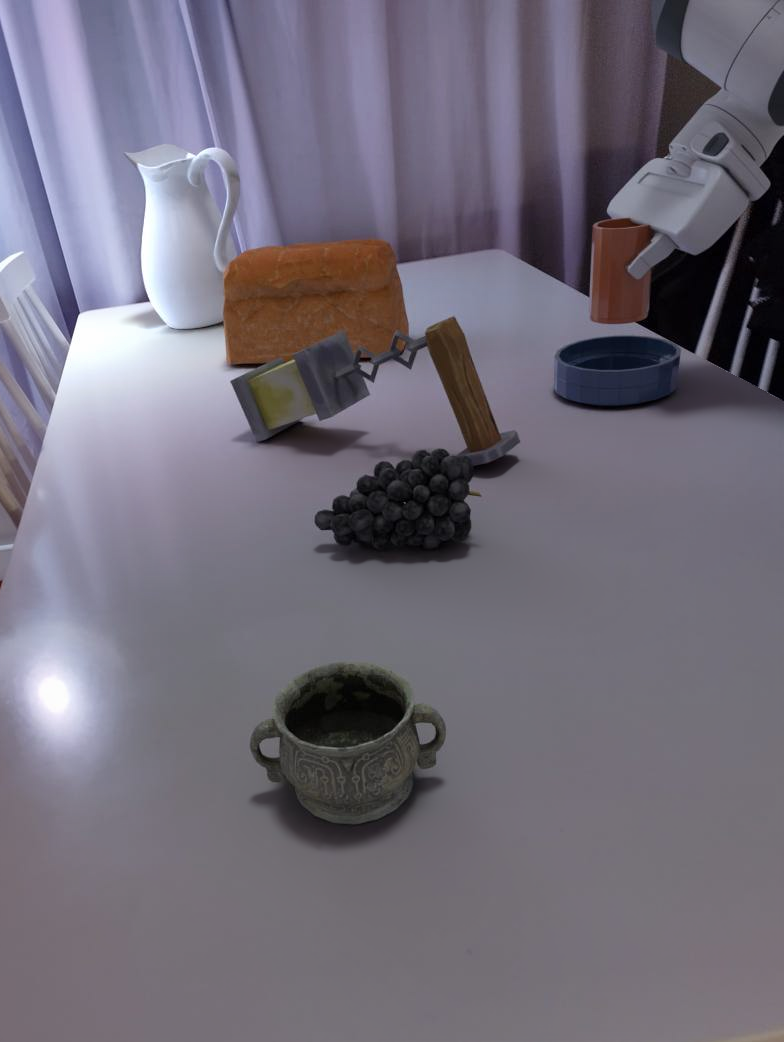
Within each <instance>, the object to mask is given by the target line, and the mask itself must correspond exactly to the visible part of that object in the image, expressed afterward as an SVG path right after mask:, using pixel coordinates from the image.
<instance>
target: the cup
mask: <svg viewBox="0 0 784 1042" xmlns="http://www.w3.org/2000/svg"><path fill="white" fill-rule="evenodd" d="M591 232H592V234H591V254H590V255H591V258H590V278H589V279H590V280H589V300H588V301H589V302H588V314H589V315H588V318H589V320H590V321H591V322H592V323H596V324H602V325H625V324H632V323H637V322H640V321H643V320H646V319H647V318H648V316H649V310H650V300H651V299H650V298H651V286H652V276H653V275H652V272H653V267H650V269H649V270H648V271H647V272H646V273H645V274H644V275H643V276H642V278H640V279H635V278H633V277H631V276H630V275H629V274H628V273H627V272H626V271H625V270H624V267H625V265H626V264H627V263H628V262H629V261H630V259H631V258H632V257H633V256H634V255H639V254H640V253H641V252H642V251H643V250H644V249H645V248H647V247H648V246H649V245H650V244H651V243H652V242H651V240H652V239H653V238H654V236H655V230H652V229H650V227H649V224H646V225H642V226H641V225H638V224H635V223H632V222H631V221H630V218H629V217H628V218H616V219H612V218H609V219H605V220H599V221H597V222H594V224H593V225H592V231H591Z"/></svg>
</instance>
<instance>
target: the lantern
mask: <svg viewBox="0 0 784 1042" xmlns="http://www.w3.org/2000/svg"><path fill="white" fill-rule="evenodd" d="M398 338H400V339H402V340H404V341H405V342H406V346H405V350H406V351H408V352H410V355H409V357H408V360H405V359H403V358H402V357H401V353H402V351H401V350H399V349H398V348H396V345H397V342H398ZM426 347H427V351H428V353H429V355H430V358H431V360H432V362H433V365H434V367H435V370H436V372H437V374H438V377H439V380H440V382H441V384H442V387H443V389H444V392H445V394H446V397H447V399H448V401H449V404H450V407H451V409H452V412H453V414H454V417H455V420H456V422H457V425H458V427H459V430H460V431H461V435H462V437H463V439H464V443H465V446H466V448H464V449H463V450H461V452H459V453H458V454H456V455H455V456H456V457H458V456H460V455H466V456H467V457H469V458H470V459H472V463H473V467H474V466H479V465H484V464H489V463H491V462H493V461H495V460H498V459H499V458H502V457H503V456H505V455H506V454H507V453H508V452H510V451H511V450H512V449H514V448H515V447H516V446H518V445H519V444H520V443H521V438H520V436H519V433H518V431H517V430H514V429H513V430H508V431H504V432H500V431H499V428H498V426H497V422H496V420H495V417H494V414H493V412H492V409H491V407H490V403H489V401H488V398H487V396H486V392H485V390H484V387H483V385H482V382H481V380H480V377H479V374H478V371H477V369H476V366H475V362H474V361H473V357H472V354H471V351H470V347H469V345H468V342H467V338H466V335H465V333H464V331H463V329H462V328H461V325H460V324H459V322H458V320H457V318H456V316H455V315H453V316H450V317H447V318H446V319H443V320H441V321H438V322H436V323H434V324H432V325H430V326H428V327H426V330H425V332H424V336H423V335H422V336H421V337H419V338H417V339H413V338H411V337H410V336H409V337H408V336H406V335H404V334H403V333H401V332H399V331H398V330H395V333H394V336H393V340H392V343H391V346H390V349H389V350H387V351H385V352H382V353H380V354H378V355H376V354H374V353H372V352H371V351H369V350H367V349H366V348H364V347H362V346H361V345H358V348H357V352H356V355H354V352H353V350H352V347H351V344H350V342H349V339H348V337H347V334H346V332H345V330H344V331H342V332H339V333H337V334H335V335H332V336H330V337H328V338H326V339H324V340H322V341H320V342H318V343H316V344H314V345H312V346H310V347H308V348H305V349H303V350H301V351H299V352H297V353H295V354H293V355H292V356H293V358H294V360H291V361H289V362H283V360H282V358H281V357H280V358H278V359H275V360H273V361H271V362H268V363H263V364H262V365H260V366H258V367H257V368H253V369H252V370H250V371H248V372H245V373H244V374H241V375H240V376H237V377H236V378H235V377H234V378H233V379H231V380H230V381H229V382H230V384H231V387H232V389H233V391H234V394H235V395H236V398H237V400H238V402H239V405H240V407H241V409H242V411H243V414H244V416H245V418H246V421H247V423H248V425H249V428H250V430H251V432H252V435H253V437H254V439H255V441H256V443H259V442H262V441H265V440H268V439H270V438H271V437H273V436H275V435H277V434H278V433H280V432H282V431H284V430H286V429H287V428H289V427H291V426H292V425H295V424H296V423H298V422H300V421H302V420H304V419H305V418H308V417H310V416H314V415H316V416H317V418H318V421H319V422H322V421H324V420H327V419H331V418H333V417H335V416H336V415H338V414H339V413H341V412H343V411H344V410H346V409H348V408H350V407H351V406H353V405H355V404H357V403H360V401H363V400H364V399H366V398H368V397H369V396H371V393H370V390H369V388H368V386H367V382H366V381H365V379H366V380H368V381H369V382H371V383H373V384H375V381H376V377H377V374H378V370H379V369H380V368H379V367H380V365H382V364H385V363H386V362H389V361H391V360H393V361H395V362H397V363H399V364H400V365H402V366H403V367H405V368H407V369H409V370H410V371H412V368H413V365H414V363H415V359H416V356H417V353H418V351H420V350H423V349H424V348H426ZM361 353H364V354H365V355H367V356H369V357H370V358H369V359H370V361H369V363H370V364H371V365H373V366H372V370H371V374H370V373H367V372H366V371H364V370H363V369H362V364H359V363H360V360H361V358H360V356H361Z"/></svg>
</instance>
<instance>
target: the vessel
mask: <svg viewBox="0 0 784 1042" xmlns="http://www.w3.org/2000/svg"><path fill="white" fill-rule="evenodd" d="M415 701H416V700H415V691H414V690H413V688H412V686H411V685H410V683H409V682H408V680H406V679H405V678H404V677H403V676H402V675H401V674H398V673H396V672H395V671H393V670H391V669H390V668H387V667H386V666H382V665H379V664H374V663H372V662H371V663H370V662H360V661H337V662H331V663H327V664H324V665H321V666H316V667H313V668H311V669H308V670H307V671H305V672H303V673H301V674H299V675H296V676H295V677H294V678H293V679H292V680H290V681H289V682H288V683H287V684H286V685H284V686H283V687H282V688H281V689H280V690H279V692H278V694H276V696H275V698H274V700H273V703H272V706H271V715H272V718H266V719H264V720H263V721H261V722H260V723H259V724H257V725H256V726H255V727H254V729H253V731H252V734H251V736H250V741H249V749H250V752H251V755H252V757H253V759H254V760H255V762H256V763H257V764H258V765H259V766H261V767H262V768H265V770H266V776H267V779H268V780H270V782H272V783H283V782H284V780H285V779H286V780H287V781H288V782H289V783H290V784H291V786H293V787H294V792H295V795H296V798H297V800H298V802H299V803H300V805H301V806H302V807H304V808H305V810H307V811H309V813H311V814H312V815H313V816H315V817H317V818H319V819H322V820H325V821H327V822H329V823H332V824H343V825H354V826H355V825H360V824H364V823H368V822H372V821H376V820H379V819H382V818H383V817H385V816H387V815H389V814H391V813H392V812H394V811H397V810H398V808H400V806H402V805H403V803H404V802H405V801H406V800H407V799H408V798H409V796H410V795H411V792H412V790H413V786H414V775H413V771H414V769H415V768H416V765H417V766H418V767H419V769H421V770H428V769H431V768H433V767H434V766H436V765H437V752H438V751H440V749H441V748H442V747H443V745H444V743H445V741H446V736H447V725H446V723H445V720H444V718H443V717H442V715H441V714H440V713H439V711H438V709H436V708H434V707H433V706H431V705H429V704H426V703H423V702H422V703H417V704H416V702H415ZM423 723H424V724H431V725H432V726H433V727H434V728H435V734H434V738H433V739H432V740H431V741H429V742H426V743H421V742H420V737H419V733H418V728H417V725H416V724H423ZM274 738H279V743H278V744H279V745H278V746H279V747H278V754H279V756H277V757H270V756H267V755H265V754H263V753H262V750H261V747H260V744H261V743H262V742H263V741H264V740H267V739H274Z"/></svg>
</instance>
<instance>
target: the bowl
mask: <svg viewBox="0 0 784 1042" xmlns="http://www.w3.org/2000/svg"><path fill="white" fill-rule="evenodd" d="M681 355H682V348H681V347H680V346H679V345H677V343H675V342H673V341H669V340H667V339H665V338H659V337H655V336H647V335H635V334H634V335H633V334H632V335H631V334H630V335H629V334H628V335H627V334H625V335H623V334H622V335H621V334H620V335H607V336H606V335H605V336H596V337H590V338H586V339H580V340H577V341H574V342H571V343H569V344H565V345H564V346H562V347H561V348H559V349H558V350H556V353H555V355H554V361H553V363H554V366H553V389H554V390H555V393H556V394H557V395H559V396H560V397H562V398H564V399H565V400H569V401H572V402H576V403H581V404H583V405H584V404H585V405H590V406H598V407H623V406H632V405H633V406H634V405H638V404H639V405H640V404H643V403H647V402H651V401H655V400H658V399H662V398H663V397H667V396H668V395H671V394H672V393H673V392H674V391H675V390H677V388H678V385H679V375H680V365H681Z"/></svg>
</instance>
